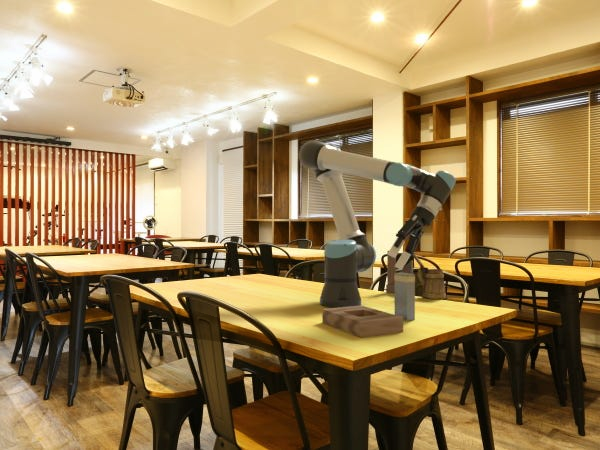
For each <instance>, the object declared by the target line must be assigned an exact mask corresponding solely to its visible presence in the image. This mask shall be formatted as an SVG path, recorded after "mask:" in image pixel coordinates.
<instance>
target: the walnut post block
mask: <svg viewBox="0 0 600 450" xmlns="http://www.w3.org/2000/svg"><path fill="white" fill-rule="evenodd" d="M321 312H322V316H321V317H322V318H321V319H322V324H325V325H327V326H331V327H334V328H335V329H338V330H341V331H343V332H346V333H348V334H351V335H354V336H356V337H358V338H366V337H368V338H369V337H374V336H382V335H388V334H389V335H390V334H397V333H403V332H404V320H403V317H401V316H397V315H395V313H390V312H387V311H383V310H379V309H376V308H371V307H368V306H365V305H362V304H361V305H360V306H350V307H329V308H323V309H322V311H321Z"/></svg>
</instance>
